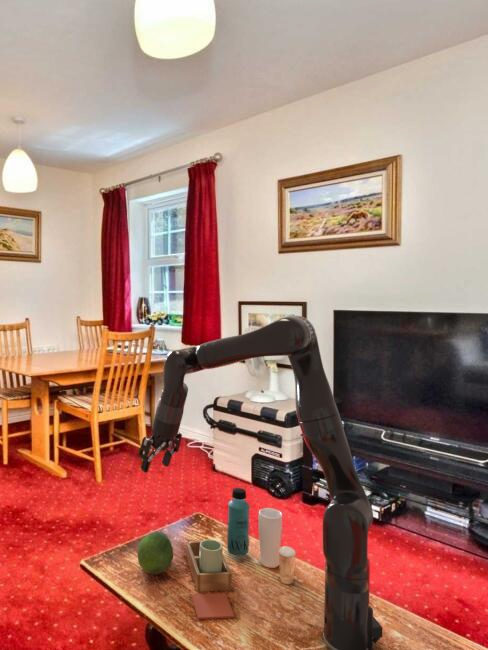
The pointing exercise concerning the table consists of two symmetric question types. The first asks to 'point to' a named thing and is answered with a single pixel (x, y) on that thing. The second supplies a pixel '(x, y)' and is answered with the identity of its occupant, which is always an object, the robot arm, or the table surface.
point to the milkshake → (287, 564)
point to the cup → (210, 556)
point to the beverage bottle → (238, 523)
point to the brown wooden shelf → (206, 580)
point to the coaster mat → (212, 606)
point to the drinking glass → (270, 536)
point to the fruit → (155, 553)
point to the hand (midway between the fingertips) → (154, 468)
